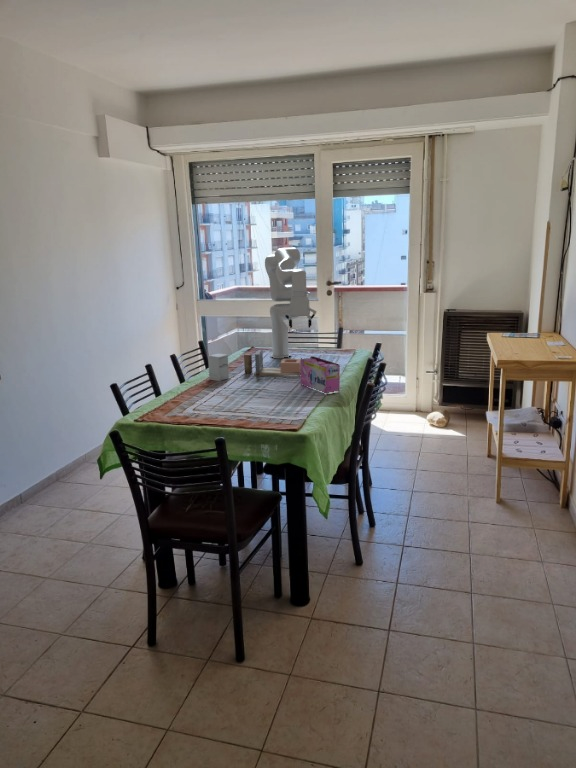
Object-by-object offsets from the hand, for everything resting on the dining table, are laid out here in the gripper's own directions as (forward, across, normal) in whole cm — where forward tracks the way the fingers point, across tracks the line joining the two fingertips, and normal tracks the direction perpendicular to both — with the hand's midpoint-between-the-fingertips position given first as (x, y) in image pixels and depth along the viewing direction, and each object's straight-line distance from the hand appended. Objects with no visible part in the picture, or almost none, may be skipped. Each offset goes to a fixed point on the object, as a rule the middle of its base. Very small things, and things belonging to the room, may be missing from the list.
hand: (300, 327), depth 295 cm
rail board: (+24, +10, +3) cm, 26 cm away
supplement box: (+24, +41, +17) cm, 50 cm away
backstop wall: (+24, +22, +3) cm, 33 cm away
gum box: (+26, -12, +33) cm, 43 cm away
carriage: (+22, +5, +3) cm, 23 cm away
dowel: (+24, +28, +3) cm, 37 cm away
